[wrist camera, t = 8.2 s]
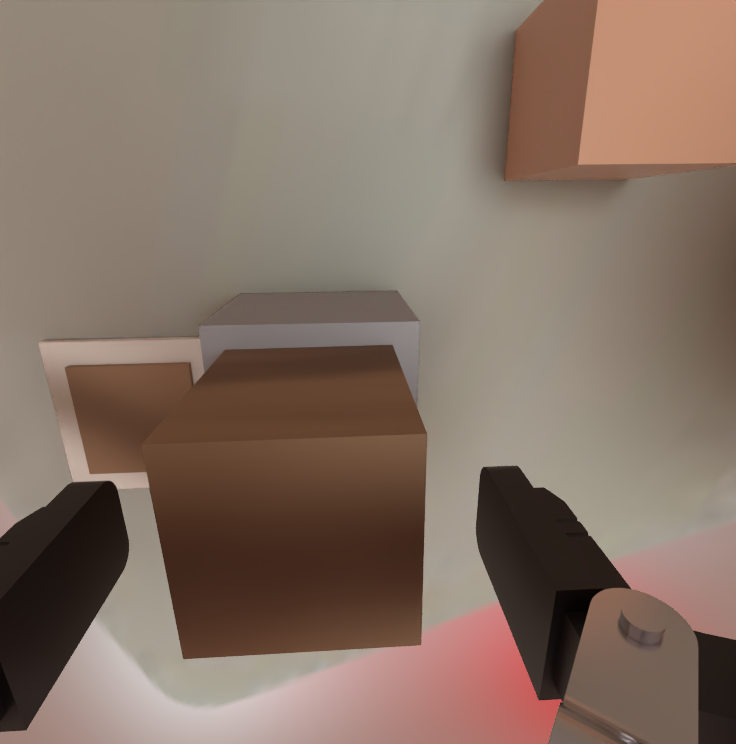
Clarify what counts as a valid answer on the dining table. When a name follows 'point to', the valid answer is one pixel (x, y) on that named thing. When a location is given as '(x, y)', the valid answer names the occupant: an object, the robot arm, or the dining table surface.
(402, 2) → the dining table surface
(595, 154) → the terracotta block
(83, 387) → the tile
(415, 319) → the grey block
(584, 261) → the dining table surface
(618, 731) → the robot arm
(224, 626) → the walnut block
